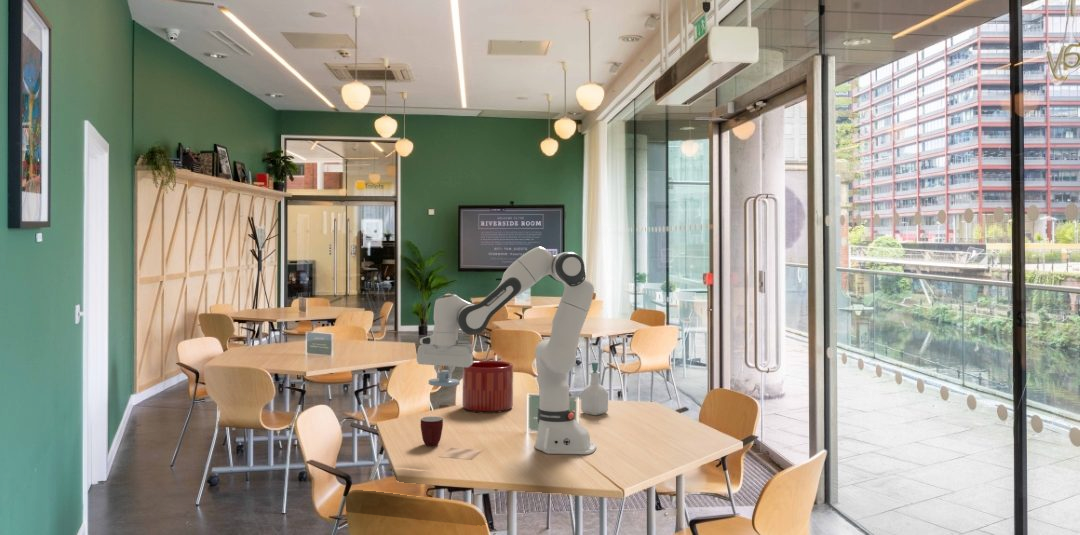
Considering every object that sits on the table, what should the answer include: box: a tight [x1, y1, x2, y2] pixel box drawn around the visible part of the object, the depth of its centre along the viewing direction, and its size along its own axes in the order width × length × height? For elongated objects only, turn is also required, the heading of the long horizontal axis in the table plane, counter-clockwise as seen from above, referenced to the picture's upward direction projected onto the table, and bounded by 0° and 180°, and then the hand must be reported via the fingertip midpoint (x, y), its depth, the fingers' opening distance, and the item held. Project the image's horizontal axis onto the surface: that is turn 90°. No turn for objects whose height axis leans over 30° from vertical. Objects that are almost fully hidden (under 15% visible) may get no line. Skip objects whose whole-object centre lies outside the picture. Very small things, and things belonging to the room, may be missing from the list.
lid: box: [428, 369, 461, 387], centre depth 257 cm, size 11×11×4 cm
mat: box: [438, 447, 484, 461], centre depth 252 cm, size 12×12×1 cm
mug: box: [420, 416, 444, 447], centre depth 262 cm, size 11×8×10 cm
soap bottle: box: [580, 361, 609, 416], centre depth 321 cm, size 10×10×23 cm
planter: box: [462, 360, 514, 413], centre depth 329 cm, size 23×23×20 cm
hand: (444, 378), depth 257 cm, fingers closed on lid, 2 cm apart
